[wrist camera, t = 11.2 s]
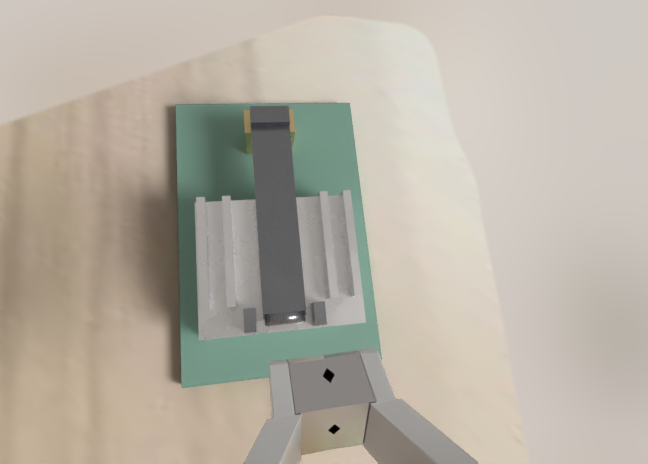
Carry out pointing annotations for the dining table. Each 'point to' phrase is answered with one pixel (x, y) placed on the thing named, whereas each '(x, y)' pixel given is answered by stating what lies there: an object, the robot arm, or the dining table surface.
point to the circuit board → (238, 182)
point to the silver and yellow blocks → (244, 265)
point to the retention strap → (277, 217)
